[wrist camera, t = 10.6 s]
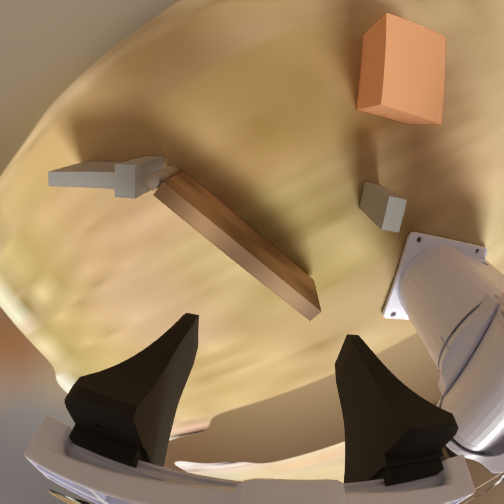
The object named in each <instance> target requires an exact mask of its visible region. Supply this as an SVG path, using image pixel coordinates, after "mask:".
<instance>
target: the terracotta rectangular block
mask: <svg viewBox="0 0 504 504" xmlns="http://www.w3.org/2000/svg"><path fill="white" fill-rule="evenodd" d="M444 86H445V36H443V35H441V34H438V33H436V32H434V31H432V30H430V29H427V28H425V27H423V26H421V25H418V24H416V23H413V22H411V21H408V20H406V19H403V18H400V17H398V16H395V15H392V14H389V13H386V14H385V15H384V16H382V17H381V18H380V19H379V20H378V21H377V22H376V23H375V24H374V25H373V26H372V27H371V28H370V29H369V30H368V31H367V32H366V33H365V34H364V35H363V43H362V57H361V69H360V80H359V90H358V99H357V108H356V110H358V111H363V112H367V113H371V114H374V115H378V116H382V117H385V118H389V119H392V120H396V121H399V122H402V123H405V124H438V125H441V121H442V112H443V101H444Z"/></svg>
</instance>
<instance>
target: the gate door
mask: <svg viewBox="0 0 504 504" xmlns="http://www.w3.org/2000/svg"><path fill="white" fill-rule="evenodd" d="M143 186H144V187H145V188H146V189H147V190H154V189H156V188H158V187H159V188H158V189H157V190H156V192H155V193H154V196H155V197H156V198H158V199H159V200H160V201H161V202H162V203H164V204H165V205H166V206H167V207H168V208H170V209H171V210H172V211H173V212H175V213H176V214H177V215H178V216H179V217H181V218H182V219H183V220H184V221H186V222H187V223H188V224H189V225H190V226H192V227H193V228H194V229H195V230H197V231H198V232H199V233H200V234H201V235H203V236H204V237H205V238H206V239H208V240H209V241H210V242H211V243H213V244H214V245H215V246H216V247H217V248H219V249H220V250H221V251H222V252H224V253H225V254H226V255H227V256H229V257H230V258H231V259H232V260H234V261H235V262H236V263H237V264H239V265H240V266H241V267H242V268H244V269H245V270H246V271H247V272H249V273H250V274H251V275H252V276H254V277H255V278H256V279H257V280H259V281H260V282H261V283H262V284H264V285H265V286H266V287H267V288H269V289H270V290H271V291H273V292H274V293H275V294H276V295H278V296H279V297H280V298H281V299H283V300H284V301H285V302H287V303H288V304H289V305H290V306H292V307H293V308H294V309H295V310H297V311H298V312H299V313H301V314H302V315H303V316H304V317H306V318H307V319H308V320H310V321H311V320H312V319H313V318H314V317H315V316H317V315H318V314H319V313H320V312H321V308H320V304H319V300H318V295H317V291H316V287H315V283H314V280H313V279H312V278H311V277H309V276H308V275H307V274H306V273H305V272H304V271H302V270H301V269H300V268H299V267H298V266H297V265H296V264H294V263H293V262H292V261H291V260H290V259H289V258H287V257H286V256H285V255H284V254H283V253H281V252H280V251H279V250H278V249H277V248H276V247H274V246H273V245H272V244H271V243H270V242H269V241H267V240H266V239H265V238H264V237H263V236H261V235H260V234H259V233H258V232H257V231H256V230H254V229H253V228H252V227H251V226H250V225H248V224H247V223H246V222H245V221H244V220H242V219H241V218H240V217H239V216H238V215H236V214H235V213H234V212H233V211H232V210H230V209H229V208H228V207H227V206H226V205H224V204H223V203H222V202H221V201H220V200H218V199H217V198H216V197H215V196H214V195H212V194H211V193H210V192H209V191H208V190H206V189H205V188H204V187H203V186H202V185H200V184H199V183H198V182H197V181H195V180H194V179H193V178H192V177H191V176H189V175H188V174H187V173H186V172H184V171H183V172H181V173H180V168H179V167H178V166H177V165H170V166H167V167H164V168H162V169H159V170H156V171H154V172H151V173H148V174H146V175H145V176H144V178H143Z"/></svg>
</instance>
